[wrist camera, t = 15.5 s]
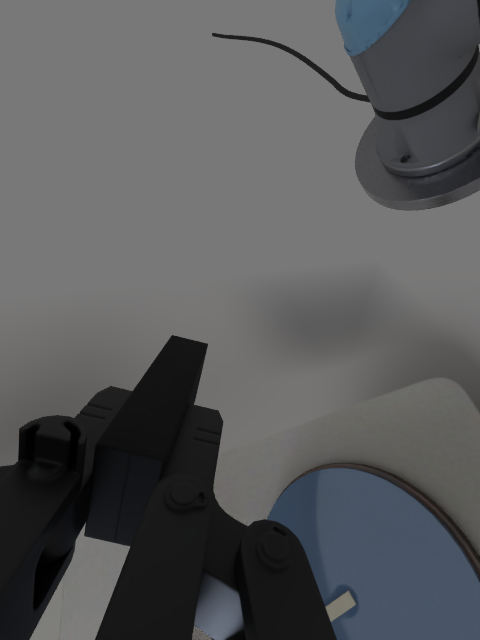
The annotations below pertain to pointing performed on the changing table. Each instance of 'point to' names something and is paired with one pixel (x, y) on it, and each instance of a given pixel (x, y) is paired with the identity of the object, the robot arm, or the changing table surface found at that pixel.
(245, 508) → the changing table surface
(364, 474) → the blue disc with post
